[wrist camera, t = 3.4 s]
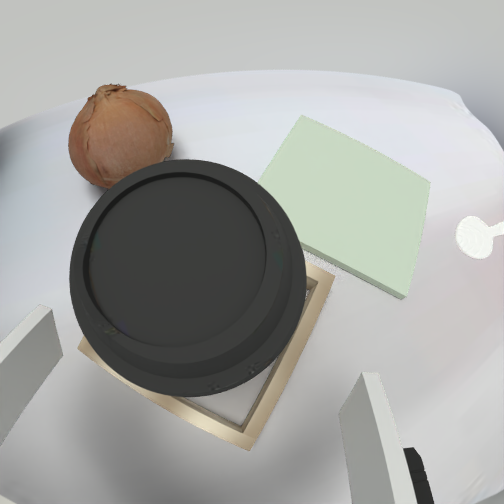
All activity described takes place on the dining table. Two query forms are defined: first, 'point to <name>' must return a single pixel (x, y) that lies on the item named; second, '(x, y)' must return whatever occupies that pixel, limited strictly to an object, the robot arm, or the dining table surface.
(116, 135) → the onion
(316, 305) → the picture frame
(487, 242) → the spoon
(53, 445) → the dining table surface
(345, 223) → the mat
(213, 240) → the coffee cup
